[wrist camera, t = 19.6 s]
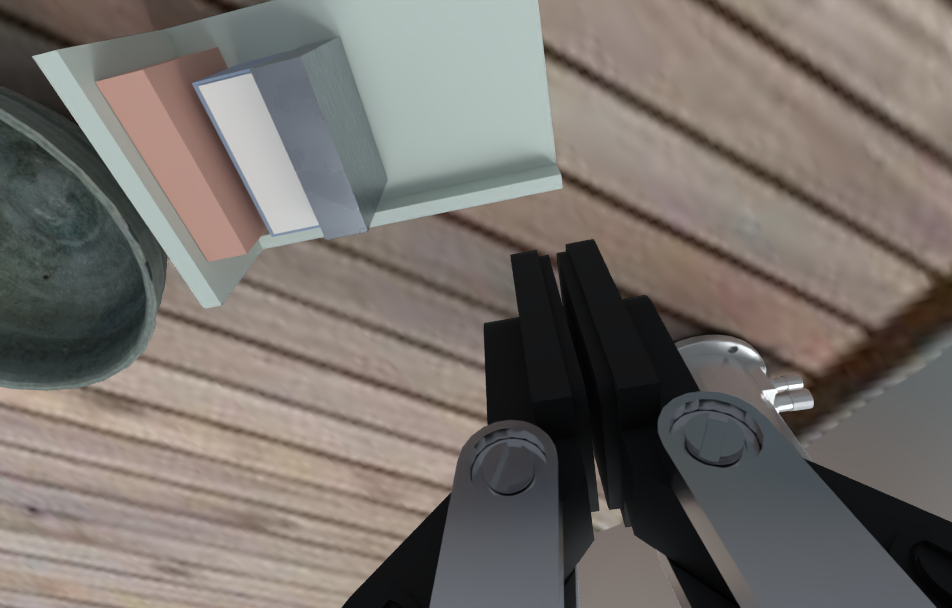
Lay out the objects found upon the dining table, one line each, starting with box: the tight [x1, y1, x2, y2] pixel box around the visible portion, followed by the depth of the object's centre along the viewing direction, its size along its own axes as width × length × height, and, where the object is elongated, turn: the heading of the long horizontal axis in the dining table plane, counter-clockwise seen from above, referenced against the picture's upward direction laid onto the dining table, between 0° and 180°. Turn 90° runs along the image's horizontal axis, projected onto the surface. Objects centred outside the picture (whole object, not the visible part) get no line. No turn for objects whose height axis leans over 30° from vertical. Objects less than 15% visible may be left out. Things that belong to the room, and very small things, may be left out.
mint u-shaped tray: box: [32, 0, 563, 309], centre depth 27 cm, size 23×14×10 cm, turn 102°
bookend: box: [250, 37, 388, 240], centre depth 27 cm, size 2×9×8 cm, turn 12°
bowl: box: [0, 86, 167, 391], centre depth 30 cm, size 21×21×10 cm
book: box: [192, 51, 320, 237], centre depth 29 cm, size 4×9×6 cm, turn 12°
